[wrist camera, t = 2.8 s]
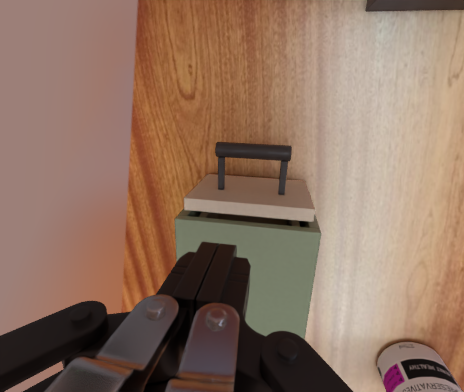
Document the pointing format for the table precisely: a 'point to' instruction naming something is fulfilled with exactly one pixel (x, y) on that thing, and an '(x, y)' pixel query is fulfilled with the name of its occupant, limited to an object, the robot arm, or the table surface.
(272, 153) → the drawer
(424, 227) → the table surface
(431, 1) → the stand
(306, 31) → the table surface
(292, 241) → the cabinet
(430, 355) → the supplement can
